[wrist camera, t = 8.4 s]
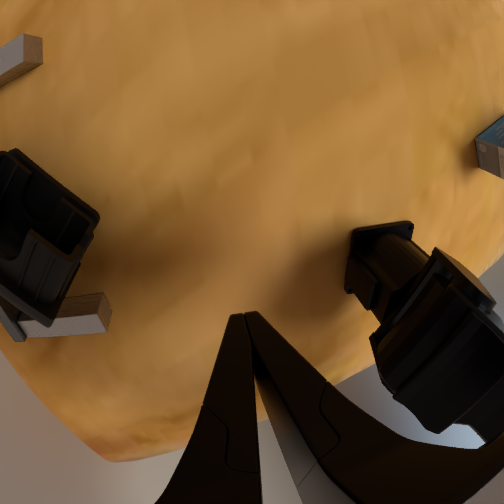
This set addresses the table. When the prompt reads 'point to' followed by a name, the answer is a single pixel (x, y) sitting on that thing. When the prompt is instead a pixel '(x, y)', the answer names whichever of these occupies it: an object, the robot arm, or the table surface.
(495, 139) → the label tape box
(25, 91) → the table surface
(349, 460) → the robot arm
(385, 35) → the table surface
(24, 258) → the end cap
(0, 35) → the table surface
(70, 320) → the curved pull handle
